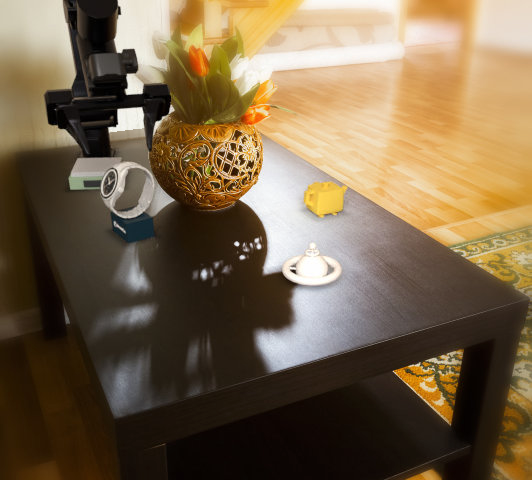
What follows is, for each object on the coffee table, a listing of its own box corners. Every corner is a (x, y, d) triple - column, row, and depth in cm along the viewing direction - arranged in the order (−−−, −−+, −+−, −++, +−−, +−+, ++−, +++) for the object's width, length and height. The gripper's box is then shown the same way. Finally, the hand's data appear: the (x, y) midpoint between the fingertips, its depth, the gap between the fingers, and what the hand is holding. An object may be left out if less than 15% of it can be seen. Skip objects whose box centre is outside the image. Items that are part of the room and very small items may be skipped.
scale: (77, 172, 120) (75, 157, 118) (125, 171, 121) (124, 156, 119) (70, 190, 112) (67, 174, 110) (121, 189, 113) (119, 173, 111)
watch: (100, 233, 97) (91, 164, 91) (148, 221, 101) (142, 154, 95) (116, 246, 93) (107, 175, 87) (164, 233, 97) (159, 164, 91)
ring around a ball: (320, 301, 80) (352, 278, 85) (321, 261, 77) (354, 239, 83) (270, 284, 84) (303, 263, 90) (269, 245, 81) (304, 226, 87)
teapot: (334, 201, 110) (336, 172, 107) (352, 213, 105) (355, 183, 102) (294, 208, 107) (295, 178, 104) (310, 220, 102) (312, 190, 99)
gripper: (33, 30, 88) (52, 131, 84) (165, 26, 93) (188, 119, 90) (39, 78, 98) (56, 169, 95) (157, 71, 104) (178, 157, 101)
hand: (120, 153), depth 95 cm, fingers open, 9 cm apart
